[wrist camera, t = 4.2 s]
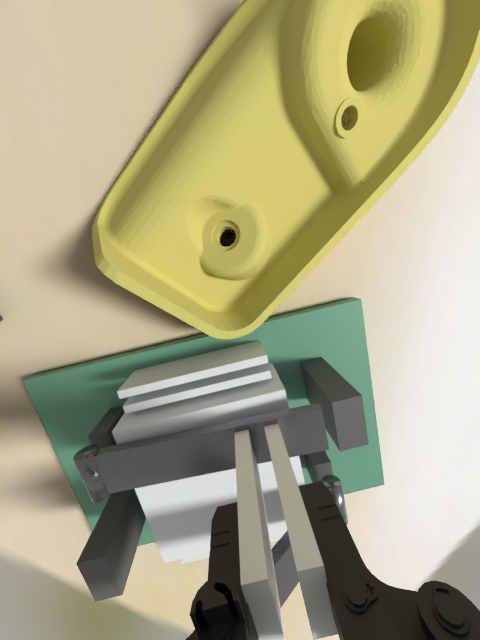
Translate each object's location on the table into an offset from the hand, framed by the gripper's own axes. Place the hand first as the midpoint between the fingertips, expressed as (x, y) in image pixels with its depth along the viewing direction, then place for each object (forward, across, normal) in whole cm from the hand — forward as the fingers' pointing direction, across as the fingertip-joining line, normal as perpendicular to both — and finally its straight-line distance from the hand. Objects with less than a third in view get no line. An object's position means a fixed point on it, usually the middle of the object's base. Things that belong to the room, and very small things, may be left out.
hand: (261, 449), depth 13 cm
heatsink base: (+6, -3, -2) cm, 7 cm away
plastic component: (+7, +4, +15) cm, 17 cm away
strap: (+1, -3, 0) cm, 3 cm away
